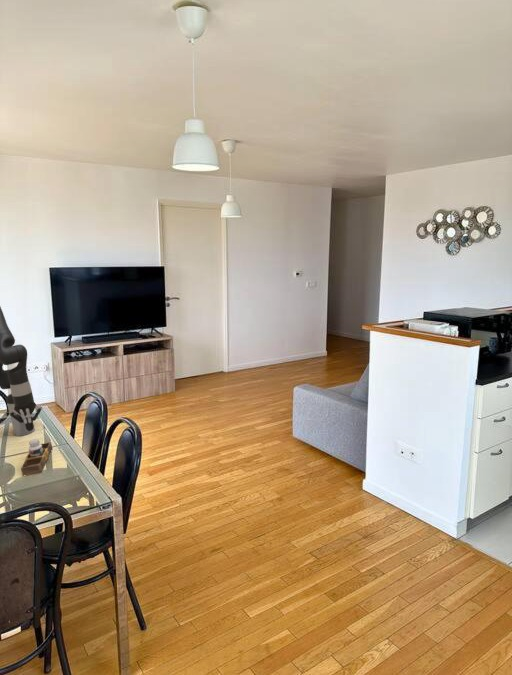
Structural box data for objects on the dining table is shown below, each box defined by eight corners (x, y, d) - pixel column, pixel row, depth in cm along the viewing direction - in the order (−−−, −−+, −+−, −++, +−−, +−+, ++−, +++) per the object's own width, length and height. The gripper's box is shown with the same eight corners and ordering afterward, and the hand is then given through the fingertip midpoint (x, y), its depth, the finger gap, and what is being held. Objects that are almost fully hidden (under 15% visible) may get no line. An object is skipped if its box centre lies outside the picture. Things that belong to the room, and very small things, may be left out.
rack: (35, 452, 212) (33, 444, 211) (53, 449, 213) (51, 441, 212) (22, 476, 192) (20, 467, 191) (42, 472, 193) (40, 464, 192)
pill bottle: (29, 463, 200) (25, 444, 197) (34, 457, 205) (29, 439, 203) (42, 461, 200) (38, 443, 198) (46, 455, 205) (42, 437, 203)
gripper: (40, 386, 199) (49, 424, 203) (7, 391, 197) (16, 429, 201) (36, 393, 192) (44, 431, 196) (1, 398, 190) (11, 436, 194)
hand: (30, 430), depth 199 cm, fingers closed
